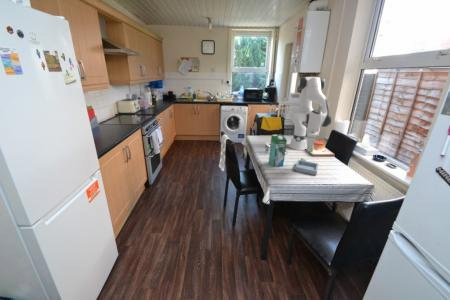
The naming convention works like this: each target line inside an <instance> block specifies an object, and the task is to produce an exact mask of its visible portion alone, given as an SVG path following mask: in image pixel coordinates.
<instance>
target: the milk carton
mask: <svg viewBox="0 0 450 300" xmlns="http://www.w3.org/2000/svg"><path fill="white" fill-rule="evenodd" d="M270 137H271V139H270V147H269V155H268V164H269V165H270V166H272V167H275V168H276V167H284V162H285V157H286V149H287V142H288V140H287V139H286V137H284V135H283V134H282V133H280V134H275V133H274V134H271V136H270Z"/></svg>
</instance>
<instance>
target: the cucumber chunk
mask: <svg viewBox="0 0 450 300" xmlns="http://www.w3.org/2000/svg"><path fill="white" fill-rule="evenodd" d="M308 149H309V147H307V150H306V152H307V153H313V151H314V144H313V147H312V148H311V151H308Z"/></svg>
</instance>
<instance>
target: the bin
mask: <svg viewBox="0 0 450 300" xmlns="http://www.w3.org/2000/svg"><path fill="white" fill-rule="evenodd" d="M318 168H319V163H317V162H311V161H307V160H306V161H302V160H301V159H298V160H297V161H296V164H295V166H294V172H297V173H298V172H299V173H303V174H308V175H312V176H317V173H318Z"/></svg>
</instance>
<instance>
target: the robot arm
mask: <svg viewBox="0 0 450 300" xmlns="http://www.w3.org/2000/svg"><path fill="white" fill-rule="evenodd" d="M297 86H298V89H299V90H301V92H300V97H299V105H300V106H301V107H302V108H303V109H293V110H291V111H290V112H289V114H288V115H289V116H288V117H289V120H290V121H292V122H293V125H294V132H293V134H292V135H293V136H292V138H291V140H290V143H289V144H288V147H289V148H291V149H293V150H297V151H303V150H304V151H306V150H305V149H306V148H305V147H306V146H307V147H309V149H308V151H311V148H312V147H313V145H314V144H315V141H316V138H317V137H319V136H320V132H321V128H322V127H324V128H327V127H329V125H331V123H332V115H331V114H330V113H331V112H330V110H329V104H328V99H327V97H326V95H324V93H323V92H322V90H323V89H324V88H325V86H326V79H325V78H324V77H318V76H301V77H299V79H298V82H297ZM313 103H315V104H317V105H320V108H321V110H319V109H313ZM303 122H304V123H305V124H306V125H308V126H307V127H306V125H305V124H303ZM306 137H307V140H306ZM313 148H314V147H313Z"/></svg>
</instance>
